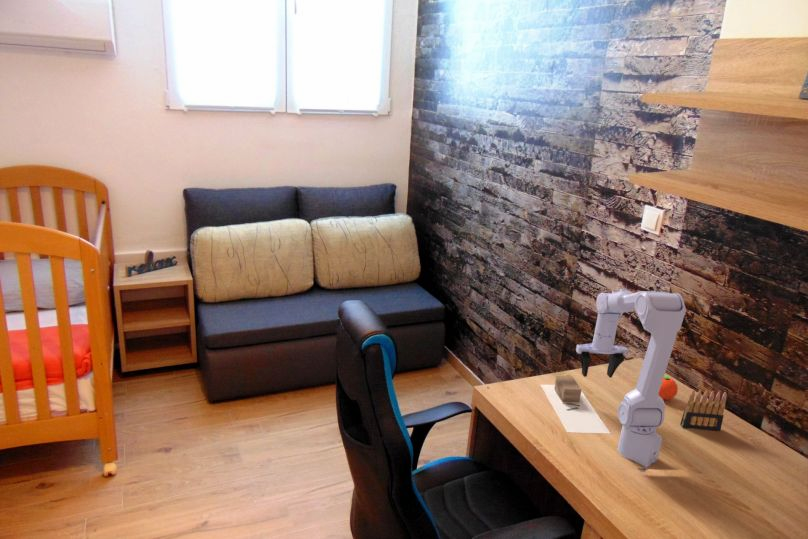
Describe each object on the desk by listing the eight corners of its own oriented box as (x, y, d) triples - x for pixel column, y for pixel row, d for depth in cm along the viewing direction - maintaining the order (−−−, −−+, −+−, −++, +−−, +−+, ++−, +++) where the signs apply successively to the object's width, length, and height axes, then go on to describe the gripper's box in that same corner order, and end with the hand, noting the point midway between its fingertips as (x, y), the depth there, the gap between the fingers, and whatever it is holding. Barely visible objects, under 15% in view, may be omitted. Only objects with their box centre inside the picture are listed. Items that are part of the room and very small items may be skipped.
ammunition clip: (717, 427, 173) (727, 390, 169) (720, 431, 171) (730, 393, 168) (679, 424, 173) (689, 387, 169) (682, 428, 171) (692, 390, 168)
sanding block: (579, 403, 177) (581, 389, 176) (562, 403, 177) (564, 389, 176) (570, 390, 185) (572, 376, 184) (554, 389, 185) (556, 376, 183)
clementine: (646, 389, 192) (651, 369, 189) (668, 391, 192) (673, 371, 189) (655, 402, 184) (660, 382, 182) (678, 404, 184) (683, 384, 182)
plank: (609, 437, 164) (610, 433, 163) (566, 436, 163) (567, 432, 162) (577, 389, 188) (577, 385, 188) (539, 387, 187) (540, 384, 187)
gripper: (623, 328, 178) (615, 370, 182) (575, 326, 176) (568, 368, 181) (633, 338, 171) (624, 381, 175) (584, 336, 170) (576, 379, 174)
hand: (596, 375), depth 177 cm, fingers open, 7 cm apart
